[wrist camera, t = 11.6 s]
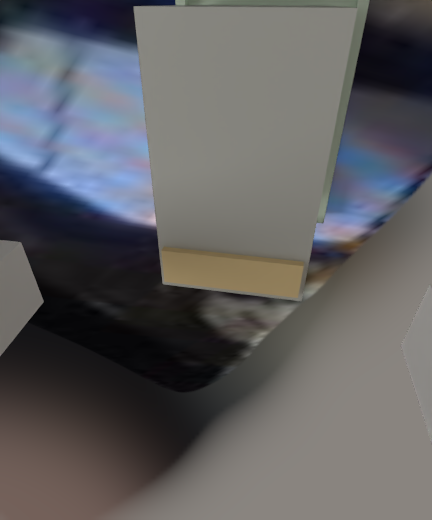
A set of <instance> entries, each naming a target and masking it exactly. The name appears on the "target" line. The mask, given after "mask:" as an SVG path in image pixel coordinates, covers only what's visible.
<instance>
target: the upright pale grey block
mask: <svg viewBox="0 0 432 520" xmlns="http://www.w3.org/2000/svg"><path fill="white" fill-rule="evenodd" d="M357 9H358V8H353V7H340V6H324V5H171V6H134V15H135V25H136V34H137V44H138V53H139V63H140V72H141V82H142V91H143V101H144V110H145V120H146V129H147V139H148V148H149V158H150V167H151V177H152V186H153V196H154V205H155V215H156V224H157V234H158V243H159V253H160V262H161V272H162V281H163V284H166V285H174V286H183V287H191V288H199V289H207V290H215V291H223V292H231V293H239V294H247V295H256V296H264V297H272V298H280V299H288V300H296V301H302V295H303V290H304V285H305V280H306V275H307V269H308V264H309V259H310V254H311V249H312V243H313V238H314V233H315V228H316V223H317V217H318V212H319V207H320V202H321V196H322V191H323V186H324V181H325V176H326V170H327V165H328V160H329V155H330V150H331V144H332V139H333V134H334V129H335V124H336V118H337V113H338V108H339V103H340V98H341V92H342V87H343V82H344V77H345V71H346V66H347V61H348V56H349V51H350V45H351V40H352V35H353V30H354V25H355V19H356V14H357Z"/></svg>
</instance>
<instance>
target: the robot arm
mask: <svg viewBox="0 0 432 520" xmlns="http://www.w3.org/2000/svg"><path fill="white" fill-rule="evenodd" d="M43 302H44V301H43V299H42V296H41V294H40V291H39V288H38V286H37V283H36V280H35V278H34V275H33V273H32V270H31V267H30V265H29V262H28V259H27V257H26V254H25V252H24V249H23V246H22V244H21V242H14V241H4V240H0V356H1V354H2V353H3V352H4V350H5V349H6V348H7V347H8V345H9V344H10V343H11V342H12V341H13V339H14V338H15V337H16V336H17V334H18V333H19V332H20V331H21V329H22V328H23V327H24V326H25V324H26V323H27V322H28V321H29V319H30V318H31V317H32V316H33V314H34V313H35V312H36V311H37V309H38V308H39V307H40V306H41V304H42V303H43ZM401 348H402V351H403V355H404V357H405V361H406V364H407V367H408V370H409V373H410V377H411V380H412V383H413V386H414V389H415V393H416V396H417V399H418V402H419V405H420V408H421V411H422V415H423V418H424V421H425V424H426V427H427V430H428V433H429V437H430V439H431V443H432V284H430V285H429V287H428V289H427V291H426V293H425V295H424V297H423V300H422V302H421V304H420V306H419V308H418V310H417V312H416V315H415V316H414V319H413V321H412V323H411V325H410V327H409V329H408V331H407V334H406V336H405V338H404V340H403V342H402V344H401Z"/></svg>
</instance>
